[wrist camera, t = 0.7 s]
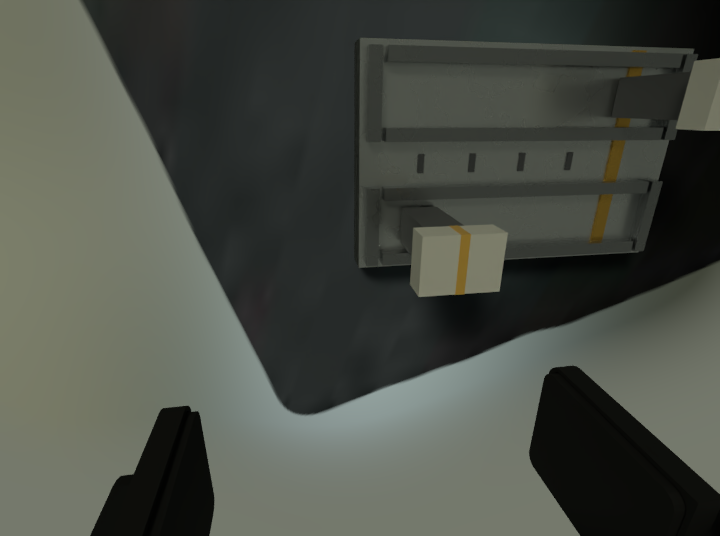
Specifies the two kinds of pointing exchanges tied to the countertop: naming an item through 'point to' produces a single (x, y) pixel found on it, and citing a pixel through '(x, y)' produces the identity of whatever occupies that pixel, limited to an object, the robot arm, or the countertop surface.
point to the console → (506, 144)
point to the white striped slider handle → (674, 97)
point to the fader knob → (451, 253)
